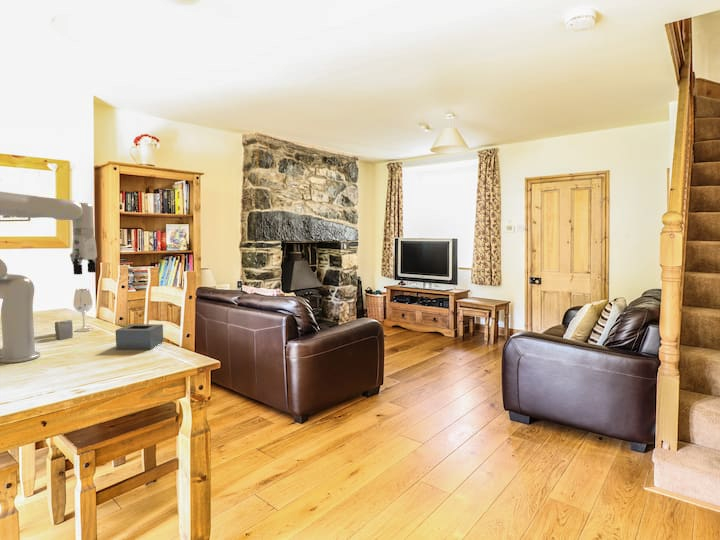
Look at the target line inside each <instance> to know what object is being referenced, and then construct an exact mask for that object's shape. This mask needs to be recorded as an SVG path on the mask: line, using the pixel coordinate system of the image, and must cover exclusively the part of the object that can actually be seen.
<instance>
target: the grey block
mask: <svg viewBox="0 0 720 540" xmlns="http://www.w3.org/2000/svg"><path fill="white" fill-rule="evenodd" d="M54 332H55V338H56V339H57V340H59V341H63V340H67V339H71V338H73V337H74V336H73V320H72V319H69V320H68V319H67V320H60V321H56V322H54Z"/></svg>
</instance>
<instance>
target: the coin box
mask: <svg viewBox="0 0 720 540" xmlns="http://www.w3.org/2000/svg"><path fill="white" fill-rule="evenodd" d="M162 342H163V343H164V325H163V324H157V323H156V324H155V323H154V324H150V323H149V324H141V323H140V324H138V323H136V324H133V323H131V324H127V325H126V326H123V327H120V328H118V329H116V330H115V347H116V349H115V350H117V351H118V350H119V351H121V350H123V351H125V350H126V351H127V350H128V351H129V350H130V351H131V350H134V351H143V350H144V351H149V350H150V351H151V350H153V349H155V348H156V347H155V346H157V345H158V344H160V343H162ZM163 343H162V344H163ZM160 345H161V344H160ZM158 346H159V345H158ZM158 346H157V347H158ZM154 347H155V348H154ZM152 348H153V349H152Z"/></svg>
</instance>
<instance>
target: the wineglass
mask: <svg viewBox="0 0 720 540" xmlns="http://www.w3.org/2000/svg"><path fill="white" fill-rule="evenodd" d="M72 305H73V308H74V310H75V311H77V312H78V313H81V314H82V327H81V328H78V329H75V330H74V331H75V332H77V333H78V332H79V333H82V332H84V333H85V332H90V331H93V330H94V328H92V327H87V326H86V324H85V323H86V322H85V314H86V313H87V312H89V311H90V310H91V309H92V307H93V298H92V294H91V292H90V289H89V288H77V289H75V292H74V295H73V304H72Z"/></svg>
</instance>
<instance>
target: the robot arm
mask: <svg viewBox="0 0 720 540" xmlns="http://www.w3.org/2000/svg"><path fill="white" fill-rule="evenodd" d="M93 207H94V206H93V205H92V204H91V203H89V202H77V201H76V200H75V201H74V200H70V199H63V198H53V197H46V196H45V197H44V196H37V195H30V194H22V193H13V192H7V191H6V192H5V191H0V216H4V217H15V218H28V219H35V218H36V219H38V218H39V219H40V218H50V219H52V218H53V220H54V219H55V220H57V221H72V236H73V237H72V252H71V253H70V254H69V257H70V260H71V263H72V266H73V275H83V264H82V262H83V260H85V261H87V272H88V273H96V272H97V260H98V250H97V249H98V248H97V242H96V238H95V232H94V231H95V230H94V229H95V228H94V210H93V209H94V208H93ZM34 295H35V284H34V283H33V281H32V280H31V279H30V278H29V277H27V276H25V275H21V274H10V273H8V266H7V265H6V263H5V261H4V260H2V259H1V258H0V299H1V300H2V304H1V307H0V320H1V336H2V337H1V338H2V347H1V348H0V363H1V364H2V363H3V364H5V363H7V364H10V363H11V364H12V363H22V362H28V361H32V360H35V359H37V358H39V357H41V353H40V352H39V351H36V349H35V348H36V347H35V327H34V313H33V312H34V309H33V308H34V307H33V305H34Z"/></svg>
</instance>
